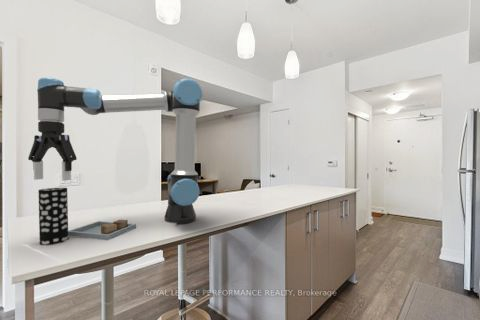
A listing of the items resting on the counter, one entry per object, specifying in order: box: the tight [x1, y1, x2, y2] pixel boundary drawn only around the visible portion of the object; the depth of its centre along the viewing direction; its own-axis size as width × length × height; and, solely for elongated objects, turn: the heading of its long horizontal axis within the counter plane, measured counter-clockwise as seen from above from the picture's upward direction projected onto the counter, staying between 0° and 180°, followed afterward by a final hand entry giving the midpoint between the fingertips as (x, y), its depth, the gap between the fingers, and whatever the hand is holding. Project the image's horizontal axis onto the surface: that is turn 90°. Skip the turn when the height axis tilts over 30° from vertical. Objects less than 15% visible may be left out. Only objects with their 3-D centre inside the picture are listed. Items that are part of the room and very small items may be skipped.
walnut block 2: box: [112, 219, 129, 231], centre depth 99 cm, size 4×4×4 cm
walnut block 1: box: [101, 223, 117, 234], centre depth 93 cm, size 4×4×4 cm
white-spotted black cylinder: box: [37, 187, 69, 246], centre depth 87 cm, size 8×8×20 cm
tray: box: [68, 220, 137, 241], centre depth 97 cm, size 20×15×2 cm
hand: (52, 179), depth 87 cm, fingers open, 13 cm apart
